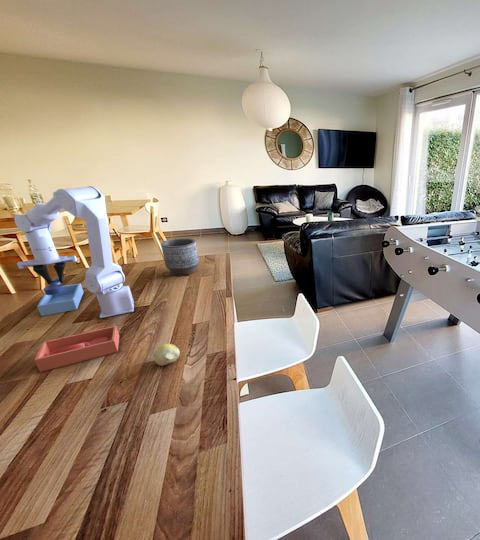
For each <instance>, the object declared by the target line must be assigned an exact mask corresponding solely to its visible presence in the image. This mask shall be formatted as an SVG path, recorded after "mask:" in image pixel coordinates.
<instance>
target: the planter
mask: <svg viewBox="0 0 480 540" xmlns="http://www.w3.org/2000/svg"><path fill="white" fill-rule="evenodd" d="M160 246H161V251H162V257H163V260H164V264H165V267H166V269H167V270H169V272H171V273H172V274H173V275H177V276H183V275H184V276H185V275H189V274H192V273H194V272H195V271H196V270H197V268H198V266H199V264H200V258H199V252H198V247H197V241H196V239H194V238H188V237H186V238H185V237H182V238H179V237H178V238H172V239H166V240H164V241H162V242H161V244H160Z"/></svg>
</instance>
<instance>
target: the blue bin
mask: <svg viewBox="0 0 480 540" xmlns="http://www.w3.org/2000/svg"><path fill="white" fill-rule="evenodd" d="M82 286H83V285H82V284H81V283H74V284H68V285H67V284H66V285H61V287H62V289H63V291H62V292H61V293H58V294H54V295H46V294H45V293H44V295H42V298H41V299H40V301H39V302H38V304H37V305H36V308H37V310H38V312H39V314H40V316H41V317H44V316H49V315H55V314H60V313H65V312H71V311H76V310H78V308H79V305H80V304H81V300H82V297H83V295H84V289H83V287H82Z"/></svg>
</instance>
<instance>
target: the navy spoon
mask: <svg viewBox="0 0 480 540" xmlns="http://www.w3.org/2000/svg"><path fill="white" fill-rule="evenodd" d="M62 284H63V283H60V281H59V278H58V276H55V277H54V278H53V279H52V282H51V284H50V285H48V286H45V287H43V291H44V295H45V294H46V295H54V294H58V293H61V292H62V291H63V289H62V287H61V286H62Z"/></svg>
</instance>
